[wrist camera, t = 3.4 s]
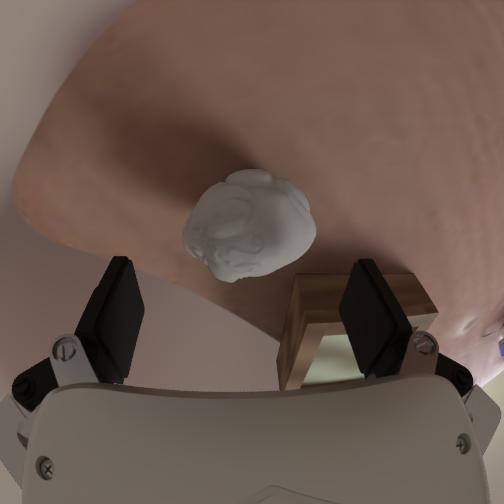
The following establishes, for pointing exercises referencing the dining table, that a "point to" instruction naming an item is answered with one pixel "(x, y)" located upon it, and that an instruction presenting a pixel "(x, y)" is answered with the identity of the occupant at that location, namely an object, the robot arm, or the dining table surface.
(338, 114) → the dining table surface
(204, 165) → the dining table surface
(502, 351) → the hard drive
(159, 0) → the dining table surface
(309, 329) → the pedestal
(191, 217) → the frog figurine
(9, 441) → the robot arm
